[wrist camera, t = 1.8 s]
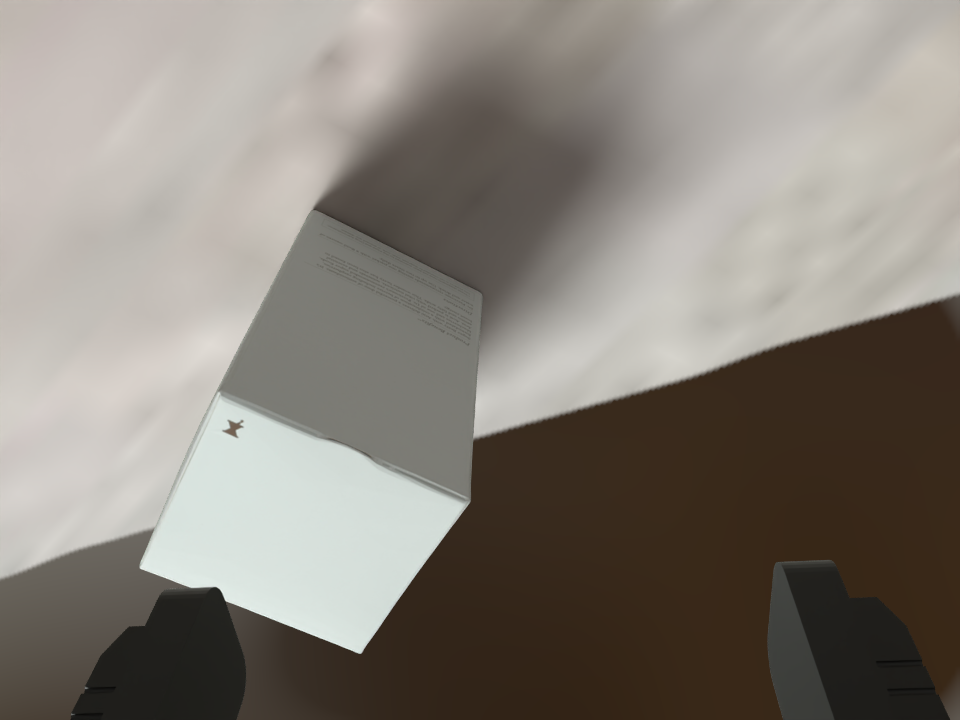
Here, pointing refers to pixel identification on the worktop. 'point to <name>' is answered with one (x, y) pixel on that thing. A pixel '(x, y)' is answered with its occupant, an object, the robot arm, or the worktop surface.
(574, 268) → the worktop surface
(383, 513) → the supplement box
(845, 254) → the worktop surface
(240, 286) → the worktop surface
